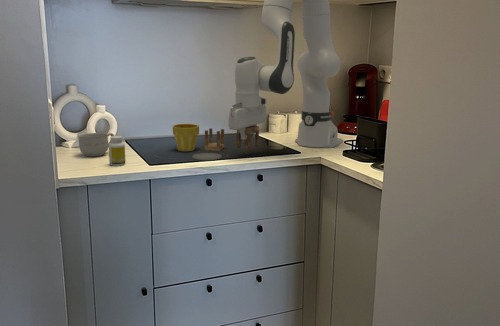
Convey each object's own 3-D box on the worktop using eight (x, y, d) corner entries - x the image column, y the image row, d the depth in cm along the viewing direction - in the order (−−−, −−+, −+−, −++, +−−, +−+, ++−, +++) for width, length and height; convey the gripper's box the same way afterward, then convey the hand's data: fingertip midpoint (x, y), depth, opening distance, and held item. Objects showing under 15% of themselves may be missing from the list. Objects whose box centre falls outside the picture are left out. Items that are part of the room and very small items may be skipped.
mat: (205, 152, 195) (205, 151, 195) (227, 156, 189) (227, 155, 189) (186, 157, 186) (186, 156, 186) (208, 162, 180) (208, 160, 180)
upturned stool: (210, 147, 205) (210, 128, 204) (224, 148, 204) (224, 129, 202) (205, 150, 200) (204, 130, 198) (219, 151, 198) (219, 131, 196)
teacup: (83, 159, 182) (82, 137, 180) (75, 153, 190) (74, 133, 188) (121, 155, 189) (120, 134, 187) (111, 150, 198) (110, 129, 196)
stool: (246, 145, 195) (245, 124, 194) (259, 146, 192) (258, 126, 190) (237, 147, 191) (236, 127, 189) (250, 149, 187) (249, 128, 185)
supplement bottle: (128, 164, 175) (127, 136, 173) (115, 167, 171) (113, 138, 169) (119, 161, 179) (118, 134, 176) (106, 164, 175) (104, 136, 172)
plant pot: (194, 153, 194) (194, 128, 192) (169, 151, 196) (168, 127, 194) (202, 147, 204) (202, 124, 202) (178, 146, 206) (177, 122, 204)
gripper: (237, 105, 177) (238, 143, 181) (268, 99, 193) (269, 134, 197) (223, 104, 181) (224, 142, 184) (255, 98, 197) (255, 132, 200)
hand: (248, 138), depth 191 cm, fingers closed on stool, 4 cm apart
